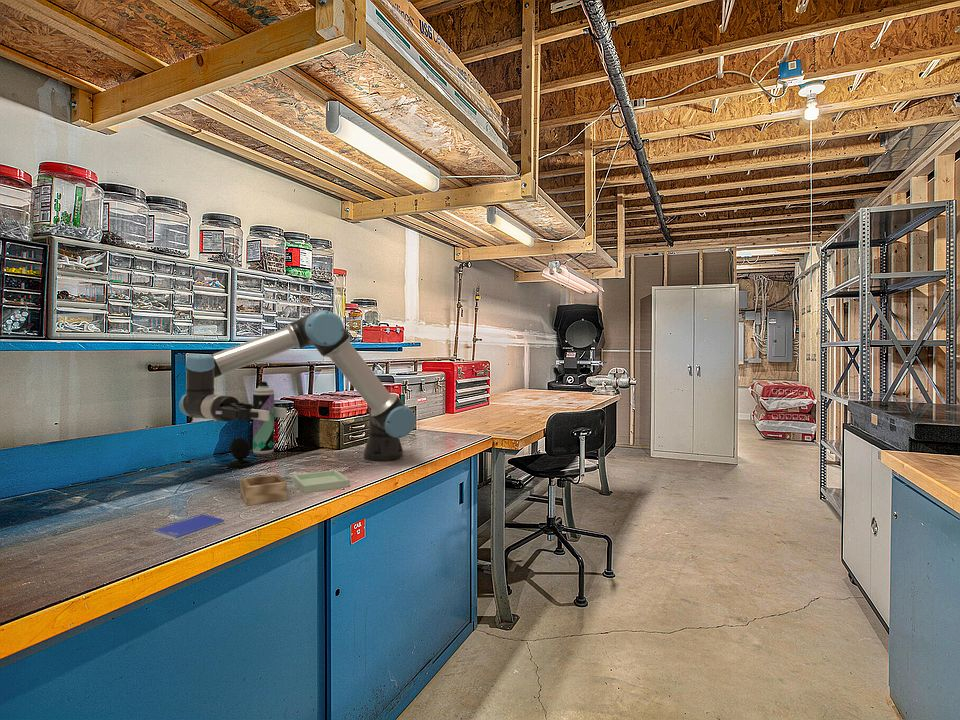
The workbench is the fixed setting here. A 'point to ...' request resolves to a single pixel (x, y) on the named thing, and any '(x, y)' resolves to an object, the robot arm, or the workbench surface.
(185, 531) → the hard drive
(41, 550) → the workbench surface
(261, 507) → the workbench surface
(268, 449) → the spray can
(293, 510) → the workbench surface
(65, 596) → the workbench surface
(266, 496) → the wooden storage crate
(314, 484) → the tray
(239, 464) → the webcam
